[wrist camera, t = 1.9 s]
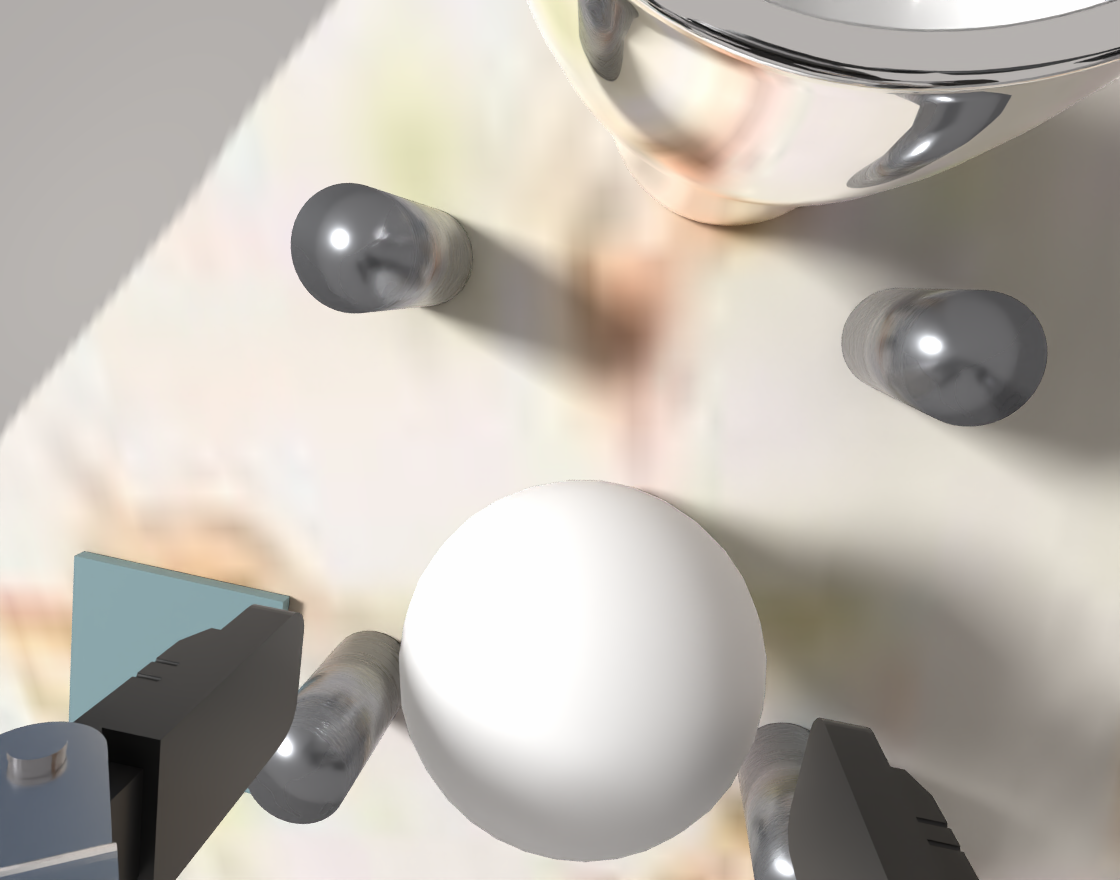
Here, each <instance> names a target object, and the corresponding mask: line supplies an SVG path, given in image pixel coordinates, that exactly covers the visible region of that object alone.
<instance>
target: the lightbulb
mask: <svg viewBox="0 0 1120 880" xmlns="http://www.w3.org/2000/svg"><path fill="white" fill-rule="evenodd" d="M766 663H767V657H766V652H765V646H764V640H763V634H762V629H761V623H760V620H759V617H758V613H757V610H756V608H755V605H754V603H753V600H752V598H751V595H750V593H749V590H748V588H747V585H746V583H745V580H744V578H743V577H742V575H741V574H740V572H739V571H738V569H737V568H736V566H735V565H734V563H733V562H732V560H731V559H730V557H729V556H728V554H727V553H726V551H725V550H724V549H723V548H722V547H721V546H720V545H719V544H718V543H717V542H716V541H715V540H714V539H713V538H712V537H711V536H710V535H709V534H708V533H707V532H706V531H705V530H704V529H703V528H702V527H701V526H700V525H699V524H698V523H697V522H696V521H694V520H693V519H692V518H690V517H689V516H687V515H686V514H684V513H683V512H681V511H680V510H678V509H677V508H675V507H674V506H672V505H671V504H669V503H668V502H666V501H665V500H663V499H660V498H658V497H655V496H653V495H651V494H648V493H646V492H644V491H641V490H639V489H636V488H634V487H630V486H625V485H622V484H617V483H611V482H606V481H597V480H566V481H561V482H555V483H549V484H543V485H538V486H533V487H529V488H527V489H524V490H521V491H519V492H516V493H514V494H511V495H509V496H506V497H503V498H501V499H498V500H496V501H495V502H493V503H492V504H490V505H489V506H487V507H486V508H484V509H482V510H481V511H479V512H478V513H476V514H475V515H473V516H472V517H470V518H469V519H468V520H467V521H466V522H465V523H464V524H463V525H462V526H461V527H460V528H459V529H458V530H457V531H456V532H455V533H454V534H453V535H452V536H451V537H450V538H449V539H448V540H447V541H446V542H445V543H444V544H443V545H442V547H441V548H440V549H439V550H438V551H437V553H436V554H435V556H434V558H433V559H432V561H431V562H430V564H429V565H428V567H427V568H426V570H425V571H424V573H423V574H422V576H421V577H420V579H419V582H418V584H417V587H416V590H415V592H414V595H413V598H412V600H411V603H410V605H409V608H408V611H407V615H406V618H405V622H404V626H403V633H402V639H401V646H400V652H399V672H400V690H401V706H402V710H403V713H404V717H405V721H406V725H407V728H408V732H409V736H410V738H411V740H412V742H413V744H414V746H415V748H416V750H417V752H418V754H419V756H420V759H421V761H422V763H423V765H424V766H425V768H426V770H427V771H428V773H429V775H430V776H431V778H432V779H433V780H434V782H435V783H436V784H437V786H438V787H439V789H440V790H441V791H442V793H443V794H444V795H445V797H446V798H447V799H448V801H449V802H450V803H451V804H453V805H454V806H455V807H456V808H457V809H458V810H459V811H460V812H461V813H462V814H463V815H464V816H465V817H466V818H467V819H468V820H469V821H470V822H472V823H473V824H475V825H476V826H478V827H479V828H481V829H482V830H484V831H485V832H487V833H488V834H490V835H491V836H493V837H494V838H496V839H498V840H500V841H503V842H505V843H507V844H509V845H512V846H514V847H516V848H518V849H521V850H523V851H525V852H529V853H533V854H537V855H541V856H545V857H548V858H552V859H559V860H571V861H583V862H589V861H600V860H611V859H618V858H622V857H626V856H629V855H633V854H636V853H640V852H644V851H647V850H649V849H651V848H653V847H655V846H657V845H659V844H661V843H663V842H665V841H667V840H669V839H671V838H673V837H674V836H676V835H678V834H679V833H681V832H682V831H684V830H685V829H687V828H688V827H689V826H691V825H692V824H693V823H694V822H696V821H697V820H698V819H700V818H701V817H702V816H704V815H705V814H706V813H707V812H709V811H710V810H711V809H712V808H713V806H714V805H715V804H716V803H717V802H718V801H719V799H720V798H721V797H722V796H723V795H724V793H725V792H726V791H727V790H728V789H729V788H730V786H731V785H732V783H733V781H734V779H735V777H736V775H737V773H738V771H739V770H740V768H741V766H742V764H743V762H744V760H745V758H746V756H747V754H748V752H749V750H750V748H751V747H752V745H753V743H754V740H755V736H756V732H757V729H758V725H759V721H760V718H761V714H762V710H763V704H764V697H765V685H766Z"/></svg>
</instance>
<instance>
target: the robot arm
mask: <svg viewBox="0 0 1120 880" xmlns="http://www.w3.org/2000/svg"><path fill="white" fill-rule="evenodd" d="M303 634H304V620H303V617H302V615H301V614H300V613H298V612H293V611H288V610H283V609H278V608H273V607H268V606H263V605H258V604H253V605H251V606H249V607H248V608H247V609H245V610H244V611H243V612H242V613H240V614H239V615H238V616H237V617H236V618H234V619H233V620H232V621H231V622H230V623H228V624H227V625H226V626H225V627H223V628H222V629H221V630H220V629H215V628H210V629H207V630H205V631H202V632H199V633H197V634H194V635H192V636H189V637H187V638H184V639H181V640H179V641H178V642H176V643H175V644H174V645H173V646H171V647H170V648H169V649H167V650H166V651H165V652H163V653H162V654H161V655H160V656H158V657H157V658H156V661H155V662H150V663H149V664H148V665H147V666H145V667H144V668H143V669H141V670H140V671H139V672H137V676H136V677H133V676H132V677H131V678H130V679H128V680H127V681H126V682H125V683H123V684H122V685H121V686H119V687H118V688H117V689H115V690H114V691H113V692H112V693H110V694H109V695H108V696H106V697H105V698H104V699H102V700H101V701H100V702H99V703H97V704H96V705H95V706H93V707H92V708H91V709H89V710H88V711H87V712H86V713H84V714H83V715H82V716H80V717H79V718H78V719H77V720H75V721H74V722H45V723H38V724H32V725H27V726H24V727H20V728H16V729H13V730H10V731H8V732H5V733H3V734H0V880H176V878H177V877H178V876H179V875H180V873H181V872H182V871H183V869H184V868H185V867H186V866H187V864H188V863H189V862H190V861H191V859H192V858H193V857H194V855H195V854H196V853H197V852H198V850H199V849H200V848H201V847H202V845H203V844H204V843H205V841H206V840H207V839H208V838H209V836H210V835H211V834H212V833H213V831H214V830H215V829H216V827H217V826H218V825H219V824H220V822H221V821H222V820H223V819H224V817H225V816H226V815H227V813H228V812H229V811H230V810H231V808H232V807H233V806H234V804H235V803H236V802H237V801H238V799H239V798H240V797H241V796H242V794H243V793H244V792H245V790H246V789H247V788H248V787H249V785H250V784H251V783H252V782H253V780H254V779H255V778H256V776H257V775H258V774H259V773H260V771H261V770H262V769H263V768H264V766H265V765H266V764H267V762H268V761H269V760H270V759H271V757H272V756H273V755H274V754H275V752H276V751H277V750H278V748H279V747H280V746H281V744H282V743H283V741H284V740H285V738H286V736H287V734H288V732H289V730H290V727H291V724H292V722H293V718H294V715H295V711H296V706H297V698H298V688H299V677H300V666H301V655H302V645H303ZM788 846H789V853H790V857H791V861H792V865H793V869H794V873H795V877H796V880H979V879H978V877H977V875H976V874H975V872H974V870H973V868H972V866H971V865H970V863H969V861H968V859H967V858H966V856H965V854H964V852H960V845H959V843H958V841H957V840H956V838H955V836H954V834H953V832H952V831H951V829H949V828H947V822H946V820H945V818H944V816H943V814H942V813H941V811H940V809H939V807H938V805H937V804H936V802H935V800H934V798H933V797H932V795H931V794H930V793H929V792H927V791H926V790H925V789H924V788H923V787H922V786H921V785H920V784H919V783H918V782H917V781H916V780H915V779H914V778H913V777H912V776H911V775H910V774H909V773H908V772H906V771H905V770H903V769H898V768H893V767H890V765H889V763H888V761H887V759H886V757H885V755H884V753H883V751H882V749H881V747H880V745H879V743H878V741H877V739H876V737H875V735H874V733H873V732H872V730H871V729H870V728H868V727H863V726H858V725H853V724H848V723H843V722H838V721H833V720H828V719H823V718H817V719H816V720H815V721H814V723H813V725H812V727H811V730H810V733H809V737H808V741H807V745H806V749H805V753H804V757H803V761H802V765H801V769H800V772H799V776H798V780H797V784H796V788H795V792H794V796H793V800H792V804H791V808H790V814H789V822H788Z"/></svg>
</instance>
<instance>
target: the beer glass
mask: <svg viewBox="0 0 1120 880" xmlns="http://www.w3.org/2000/svg"><path fill="white" fill-rule="evenodd" d="M526 2H527V4H528V7H529V9H530V12H531V14H532V16H533V18H534V20H535V23H536V25H537V27H538V29H539V31H540V33H541V35H542V37H543V38H544V40H545V42H546V44H547V46H548V48H549V49H550V51H551V53H552V54H553V56H554V58H555V59H556V61H557V63H558V64H559V66H560V67H561V69H562V71H563V72H564V74H565V76H566V77H567V79H568V81H569V82H570V84H571V85H572V87H573V88H574V90H575V91H576V93H577V94H578V96H579V97H580V99H581V100H582V101H583V103H584V104H585V106H586V107H587V108H588V109H589V111H590V112H591V113H592V114H593V116H594V117H595V118H596V119H597V120H598V121H599V122H600V123H601V125H602V126H603V127H604V128H605V129H606V130H607V131H608V132H609V133H610V134H611V135H612V136H613V138H614V141H615V144H616V147H617V149H618V152H619V154H620V156H621V158H622V160H623V162H624V164H625V166H626V167H627V169H628V171H629V172H630V174H631V175H632V176H633V178H634V179H635V180H636V182H637V183H638V184H639V185H640V186H641V187H642V189H643V190H644V191H645V192H646V193H647V194H649V195H650V196H651V197H652V198H653V199H654V200H656V201H657V202H658V203H660V204H661V205H662V206H664V207H666V208H667V209H669V210H671V211H672V212H674V213H676V214H678V215H680V216H683V217H685V218H688V219H691V220H694V221H697V222H701V223H706V224H712V225H723V226H737V225H747V224H753V223H758V222H763V221H766V220H770V219H773V218H775V217H778V216H781V215H783V214H785V213H787V212H789V211H791V210H793V209H795V208H796V207H798V206H815V205H825V204H833V203H839V202H844V201H849V200H854V199H858V198H862V197H866V196H869V195H873V194H876V193H880V192H883V191H887V190H890V189H894V188H897V187H901V186H904V185H908V184H911V183H914V182H917V181H920V180H923V179H926V178H929V177H931V176H934V175H936V174H939V173H941V172H944V171H946V170H948V169H951V168H953V167H955V166H958V165H960V164H962V163H964V162H966V161H968V160H970V159H972V158H974V157H976V156H978V155H980V154H982V153H984V152H986V151H989V150H991V149H993V148H995V147H997V146H999V145H1001V144H1003V143H1005V142H1007V141H1009V140H1011V139H1013V138H1015V137H1017V136H1019V135H1021V134H1023V133H1025V132H1027V131H1029V130H1031V129H1033V128H1034V127H1036V126H1038V125H1040V124H1042V123H1044V122H1045V121H1047V120H1049V119H1050V118H1052V117H1054V116H1055V115H1057V114H1059V113H1060V112H1062V111H1064V110H1066V109H1067V108H1069V107H1071V106H1072V105H1074V104H1076V103H1077V102H1079V101H1081V100H1082V99H1084V98H1086V97H1088V96H1089V95H1091V94H1093V93H1094V92H1096V91H1098V90H1099V89H1101V88H1103V87H1104V86H1106V85H1108V84H1109V83H1111V82H1113V81H1114V80H1116V79H1118V78H1119V77H1120V0H526Z"/></svg>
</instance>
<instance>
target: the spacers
mask: <svg viewBox="0 0 1120 880" xmlns="http://www.w3.org/2000/svg"><path fill="white" fill-rule="evenodd" d="M291 254H292V260H293V264H294V267H295V270H296V273H297V275H298V277H299V279H300V281H301V282H302V284H303V285H304V287H305V288H306V289H307V290H308V292H309V293H310V294H311V295H312V296H313V297H314V298H315V299H317V300H318V301H319V302H321V303H322V304H324V305H326V306H327V307H329V308H332V309H334V310H337V311H341V312H345V313H366V312H376V311H385V310H395V309H405V308H415V307H424V306H433V305H438V304H442V303H444V302H447V301H449V300H450V299H452V298H453V297H455V296H456V295H457V294H458V293H459V292H460V291H461V290H462V289H463V287H464V286H465V284H466V282H467V280H468V278H469V276H470V273H471V269H472V262H473V254H472V247H471V243H470V240H469V238H468V235H467V233H466V232H465V230H464V228H463V227H462V226H461V225H460V223H459V222H458V221H457V220H456V219H455V218H453V217H452V216H451V215H449V214H447V213H446V212H444V211H441V210H439V209H436V208H432V207H429V206H426V205H423V204H420V203H417V202H414V201H411V200H408V199H405V198H402V197H399V196H396V195H393V194H390V193H387V192H384V191H381V190H377V189H374V188H371V187H368V186H365V185H361V184H355V183H341V184H336V185H332V186H329V187H327V188H325V189H323V190H321V191H319V192H318V193H316V194H315V195H313V196H312V197H311V198H310V199H309V200H308V201H307V202H306V203H305V205H304V206H303V207H302V209H301V210H300V212H299V214H298V216H297V218H296V220H295V223H294V226H293V230H292V236H291ZM842 352H843V357H844V359H845V362H846V364H847V366H848V368H849V369H850V370H851V372H852V373H853V374H854V375H855V376H856V377H857V378H858V379H859V380H861V381H862V382H864V383H865V384H867V385H869V386H871V387H873V388H875V389H877V390H879V391H881V392H883V393H885V394H887V395H889V396H891V397H893V398H895V399H897V400H899V401H901V402H903V403H905V404H907V405H909V406H911V407H913V408H915V409H917V410H919V411H921V412H923V413H925V414H927V415H929V416H931V417H933V418H936V419H938V420H940V421H942V422H945V423H948V424H952V425H958V426H979V425H985V424H989V423H993V422H995V421H998V420H1001V419H1003V418H1005V417H1007V416H1009V415H1010V414H1012V413H1013V412H1015V411H1016V410H1018V409H1019V408H1020V407H1021V406H1022V405H1023V404H1025V402H1026V401H1027V400H1028V399H1029V398H1030V397H1031V396H1032V394H1033V393H1034V392H1035V390H1036V389H1037V387H1038V385H1039V383H1040V381H1041V379H1042V376H1043V374H1044V371H1045V367H1046V362H1047V343H1046V338H1045V334H1044V331H1043V329H1042V326H1041V325H1040V323H1039V321H1038V319H1037V318H1036V316H1035V315H1034V314H1033V313H1032V311H1031V310H1030V309H1029V308H1028V307H1027V306H1025V305H1024V304H1023V303H1021V302H1020V301H1018V300H1016V299H1015V298H1013V297H1011V296H1008V295H1006V294H1003V293H999V292H995V291H987V290H954V289H914V288H893V289H886V290H883V291H879V292H877V293H875V294H873V295H871V296H869V297H867V298H866V299H864V300H863V301H862V302H861V303H860V304H859V305H857V306H856V308H855V309H854V310H853V311H852V312H851V314H850V316H849V317H848V319H847V321H846V323H845V326H844V329H843V333H842ZM400 646H401V645H400V644H399V643H398V642H397V641H396V640H394V639H393V638H391V637H390V636H388V635H385V634H383V633H379V632H374V631H362V632H357V633H354V634H352V635H350V636H348V637H347V638H345V639H344V640H343V641H342V642H341V643H340V644H339V645H338V646H337V647H336V648H335V650H334V651H333V652H332V653H331V654H330V655H329V656H328V657H327V659H326V660H325V661H324V662H323V663H322V664H321V665H320V667H319V668H318V669H317V670H316V671H315V672H314V673H313V674H312V676H311V677H310V678H309V679H308V680H307V681H306V682H305V683H304V685H303V686H302V687H301V688H300V689H299V690H298V698H297V706H296V711H295V715H294V718H293V722H292V724H291V727H290V730H289V732H288V734H287V736H286V738H285V740H284V741H283V743H282V744H281V746H280V747H279V748H278V750H277V751H276V752H275V754H274V755H273V756H272V757H271V759H270V760H269V761H268V762H267V764H266V765H265V766H264V768H263V769H262V770H261V771H260V773H259V774H258V775H257V776H256V778H255V779H254V780H253V782H252V783H251V784H250V785H249V787H248V789H249V791H250V793H251V795H252V796H253V797H254V799H255V800H256V801H257V803H258V804H259V805H260V806H261V807H262V808H263V809H265V810H266V811H267V812H269V813H270V814H271V815H273V816H275V817H277V818H279V819H281V820H284V821H287V822H291V823H296V824H310V823H315V822H318V821H321V820H323V819H325V818H327V817H329V816H330V815H332V814H333V813H334V812H335V811H336V810H337V809H338V807H339V806H340V804H341V803H342V801H343V800H344V798H345V796H346V795H347V793H348V791H349V790H350V788H351V787H352V785H353V783H354V782H355V780H356V778H357V777H358V775H359V773H360V772H361V770H362V769H363V767H364V765H365V764H366V762H367V760H368V759H369V757H370V756H371V754H372V752H373V751H374V749H375V747H376V746H377V744H378V743H379V741H380V739H381V738H382V736H383V734H384V733H385V731H386V729H387V728H388V726H389V725H390V723H391V721H392V720H393V718H394V716H395V715H396V713H397V712H398V710H399V708H400V707H401V690H400V672H399V652H400ZM809 733H810V731H808V730H806V729H805V728H802V727H800V726H797V725H794V724H788V723H774V724H768V725H765V726H762V727H760V728H758V729H757V732H756V736H755V740H754V743H753V745H752V747H751V748H750V750H749V752H748V754H747V756H746V758H745V760H744V762H743V764H742V766H741V768H740V770H739V771H738V777H739V783H740V789H741V796H742V802H743V808H744V815H745V821H746V828H747V834H748V840H749V847H750V853H751V859H752V866H753V872H754V878H755V880H796V877H795V873H794V869H793V865H792V861H791V857H790V853H789V846H788V822H789V814H790V808H791V804H792V800H793V796H794V792H795V788H796V784H797V780H798V776H799V772H800V769H801V765H802V761H803V757H804V753H805V749H806V745H807V741H808V737H809Z"/></svg>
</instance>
